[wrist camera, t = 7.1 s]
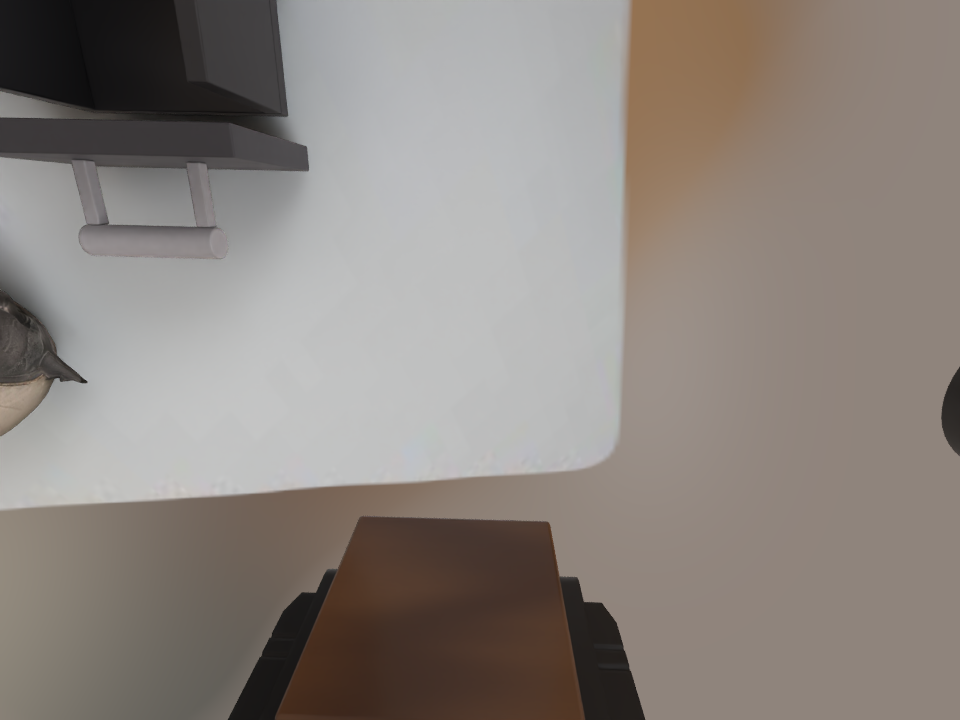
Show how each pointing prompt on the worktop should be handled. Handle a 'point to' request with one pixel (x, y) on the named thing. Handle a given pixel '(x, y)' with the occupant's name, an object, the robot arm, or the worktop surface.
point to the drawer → (146, 101)
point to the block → (440, 627)
